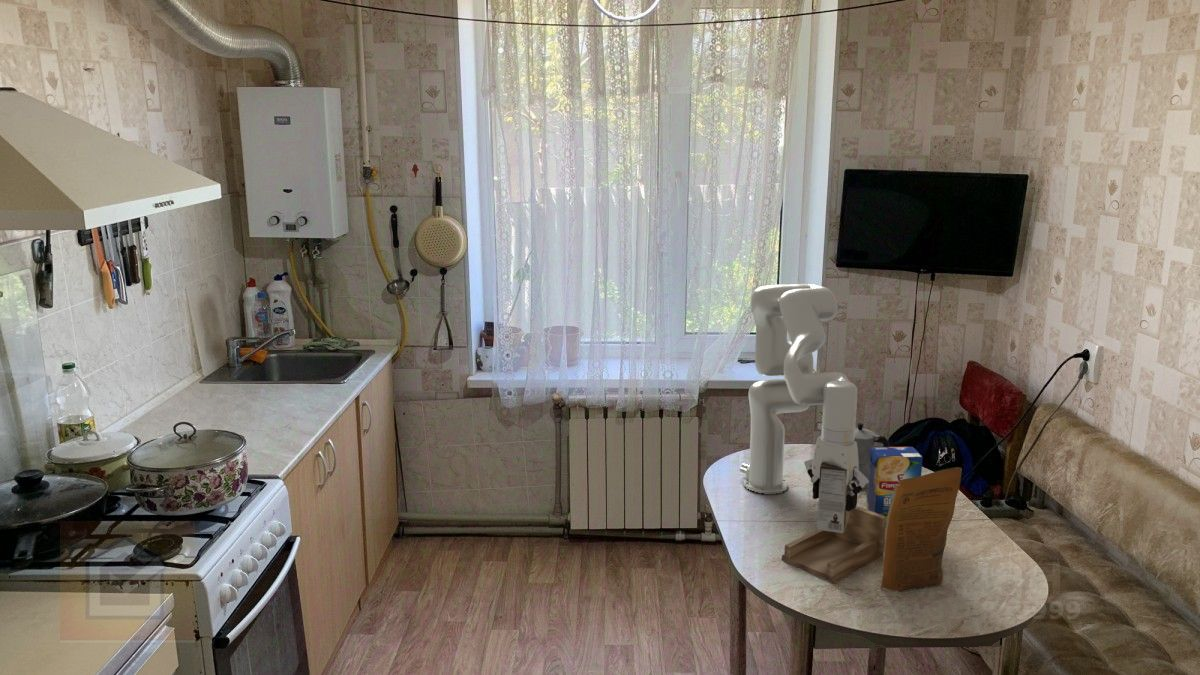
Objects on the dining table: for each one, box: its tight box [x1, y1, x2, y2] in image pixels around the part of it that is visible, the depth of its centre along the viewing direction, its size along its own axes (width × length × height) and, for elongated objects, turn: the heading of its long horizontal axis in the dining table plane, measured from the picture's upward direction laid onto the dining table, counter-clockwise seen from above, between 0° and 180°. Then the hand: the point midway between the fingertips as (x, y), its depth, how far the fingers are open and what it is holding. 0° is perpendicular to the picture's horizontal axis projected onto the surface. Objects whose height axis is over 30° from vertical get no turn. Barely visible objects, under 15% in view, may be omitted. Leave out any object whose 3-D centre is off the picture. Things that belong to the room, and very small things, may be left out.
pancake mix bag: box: [880, 466, 963, 592], centre depth 200 cm, size 7×19×28 cm, turn 106°
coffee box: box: [816, 462, 849, 533], centre depth 211 cm, size 9×6×16 cm
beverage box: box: [865, 446, 924, 540], centre depth 226 cm, size 7×11×22 cm, turn 91°
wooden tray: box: [781, 505, 886, 584], centre depth 215 cm, size 15×20×10 cm
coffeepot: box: [850, 422, 891, 489], centre depth 257 cm, size 15×9×18 cm, turn 51°
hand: (834, 503), depth 212 cm, fingers closed on coffee box, 8 cm apart
